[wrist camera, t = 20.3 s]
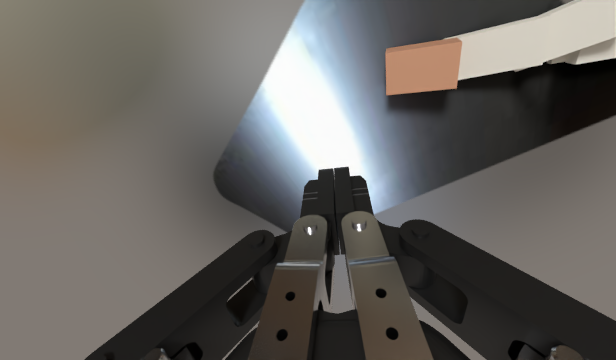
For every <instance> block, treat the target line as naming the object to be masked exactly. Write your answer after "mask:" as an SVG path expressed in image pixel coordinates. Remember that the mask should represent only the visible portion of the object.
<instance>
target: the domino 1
mask: <svg viewBox="0 0 616 360" xmlns="http://www.w3.org/2000/svg"><path fill="white" fill-rule="evenodd" d="M461 49H462V41H461V40H460V39H458V38H451V39H444V40H438V41H431V42H425V43H419V44H412V45H406V46H399V47H393V48H387V50H386V95H395V94H405V93H415V92H425V91H435V90H445V89H456V88H457V82H458V74H459V65H460V57H461Z"/></svg>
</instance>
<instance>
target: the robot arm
mask: <svg viewBox="0 0 616 360" xmlns="http://www.w3.org/2000/svg"><path fill="white" fill-rule="evenodd" d="M334 177H335V179H334ZM339 241H340V249H341V254H345V259H346V268H347V274H348V281H349V287H350V293H351V299H352V305H353V310H350V311H347V312H343V313H339V314H335V313H332V300H333V285H334V264H335V258H334V255H339V254H340V252H339ZM250 278H252V280H251V281H250V282H249V283H248V284H247V285H245V286H244V287H243V288H242V289H241V290H240V291H239V292H238V293H237V294H235V295H234V296H233V297H232V298H231V299H230V300H229V301H228V299H229V297H230V296H231V295H232V294H234V293H235V292H236V291H237V290H238V289H239V288H240V287H241V286H243V285H244V284H245V283H246V282H247V281H248V280H249V279H250ZM410 297H411V298H412V299H414V300H415V301H416V302H417V303H418V304H420V305H421V306H422V307H424V308H425V309H426V310H427V311H428V312H429V313H431V314H432V315H433V316H434V317H436V318H437V319H438V320H439V321H440V322H442V323H443V324H444V325H445V326H446V327H448V328H449V329H450V330H451V331H453V332H454V333H455V334H456V335H457V336H459V337H460V338H461V339H462V340H463V341H465V342H466V343H467V344H468V345H470V346H471V347H472V348H473V349H474V350H476V351H477V352H478V353H479V354H480V355H482V356H483V357H484V358H485V359H487V360H616V321H615V320H613V319H611V318H609V317H607V316H605V315H604V314H602V313H599V312H598V311H596V310H594V309H592V308H590V307H588V306H587V305H585V304H583V303H581V302H579V301H577V300H575V299H573V298H572V297H570V296H568V295H566V294H564V293H562V292H560V291H558V290H557V289H555V288H553V287H551V286H549V285H547V284H545V283H543V282H542V281H540V280H538V279H536V278H534V277H532V276H530V275H528V274H527V273H525V272H523V271H521V270H519V269H517V268H515V267H513V266H512V265H509V264H508V263H506V262H504V261H502V260H500V259H498V258H496V257H494V256H493V255H491V254H489V253H487V252H485V251H483V250H481V249H480V248H478V247H476V246H474V245H472V244H470V243H468V242H466V241H465V240H463V239H461V238H459V237H457V236H455V235H453V234H452V233H450V232H448V231H446V230H444V229H442V228H440V227H438V226H436V225H435V224H433V223H431V222H428V221H425V220H410V221H407V222H405V223H404V224H402V226H401V227H400V228H398V227H392V226H387V225H385V224H382V223H381V222H379V221H378V220H377V219H376V218H375V216H374V214H373V210H372V206H371V201H370V197H369V192H368V189H367V184H366V180H365V179H363V178H362V177H361V176H350V174H349V167H341V168H334V171H333V168H332V169H322V170H319V173H318V180H309V182H308V183H307V184H306V185H305V187H304V194H303V201H302V208H301V215H300V219H299V220H297V221H296V222H295V224H294V226H293V230H292V231H290V232H288V233H286V234H283V235H280V236H276V237H274V235H273V234H272V233H271V232H269V231H267V230H258V231H254V232H252V233H250V234H248V235H247V236H246V237H244V238H243V239H242V240H241V241H239V242H238V243H236V244H235V245H234V246H232V247H231V248H230V249H228V250H227V251H226V252H224V253H223V254H222V255H220V256H219V257H218V258H217V259H215V260H214V261H213V262H211V263H210V264H209V265H207V266H206V267H205V268H203V269H202V270H201V271H199V272H198V273H197V274H195V275H194V276H193V277H191V278H190V279H189V280H188V281H186V282H185V283H184V284H182V285H181V286H180V287H178V288H177V289H176V290H174V291H173V292H172V293H170V294H169V295H168V296H166V297H165V298H164V299H163V300H161V301H160V302H159V303H157V304H156V305H155V306H153V307H152V308H151V309H149V310H148V311H147V312H145V313H144V314H143V315H141V316H140V317H139V318H137V319H136V320H135V321H134V322H132V323H131V324H130V325H128V326H127V327H126V328H124V329H123V330H122V331H120V332H119V333H118V334H116V335H115V336H114V337H113V338H111V339H110V340H108V341H107V342H106V343H105V344H103V345H102V346H101V347H99V348H98V349H97V350H96V351H94V352H93V353H92V354H90V355H89V356H88V357H87V358H86V359H85V360H222V358H223V357H225V356H226V354H227V353H228V352H229V351H230V350H231V349H232V348H233V347H234V346H235V345H236V344H237V343H238V342H239V341H240V340H241V339H242V338H243V337H244V336H245V335H246V334H247V333H248V332H249V331H250V329H252V328H253V326H255V325H256V323H257V322H258V321H259V323H258V327H257V328H255V329H254V330H253V331H251V332H250V333H249V334H248V335H247V336H246V337H245V338H244V339H243V340H242V342H240V344H239V345H238V346H237V347H236V348H235V349H234V350H233V351H232V352H231V353H230V354H229V356H228V357H227V358H226V359H225V360H470V359H469V358H468V357H467V356H466V355H465V354H463V353H462V352H461V351H460V350H459V349H458V348H457V347H456V346H455V345H454V344H452V343H451V342H450V341H449V340H448V339H447V338H446V337H445V336H444V335H442V334H441V333H440V332H438V331H437V330H436V329H434V328H433V327H431V326H430V325H428V324H426V323H425V322H423V321H420V320H418V317H417V314H416V312H415V309H414V306H413V304H412V301H411V298H410ZM227 301H228V302H227Z"/></svg>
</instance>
